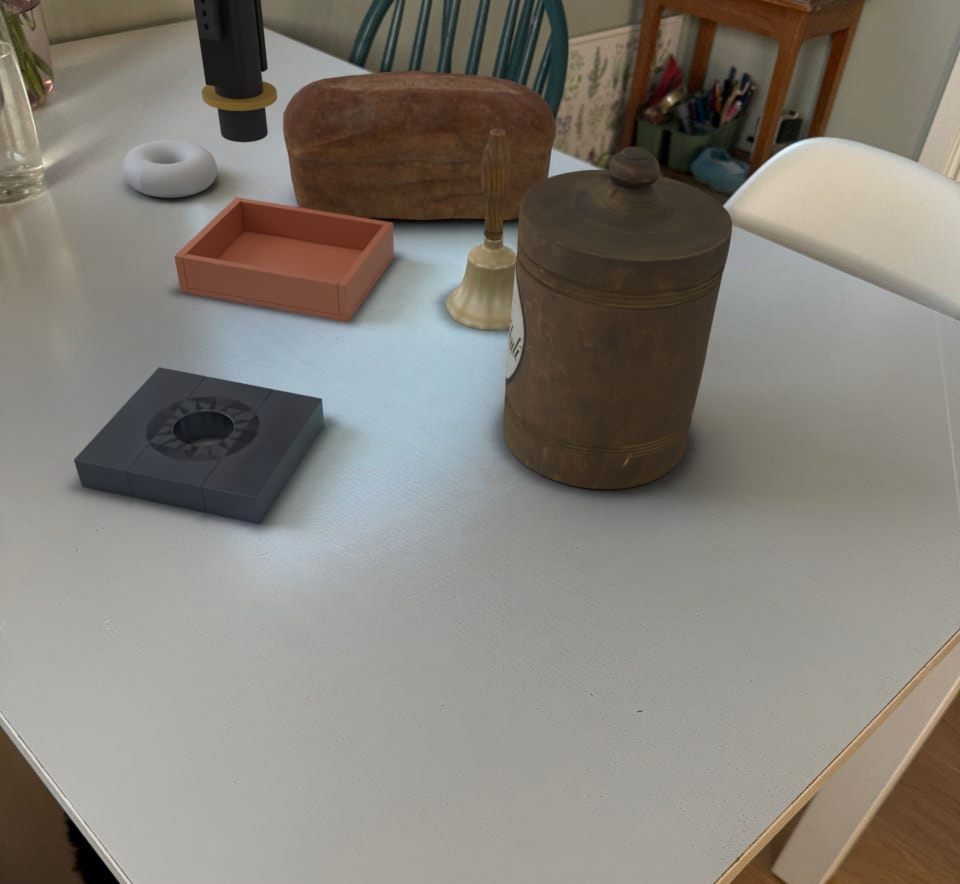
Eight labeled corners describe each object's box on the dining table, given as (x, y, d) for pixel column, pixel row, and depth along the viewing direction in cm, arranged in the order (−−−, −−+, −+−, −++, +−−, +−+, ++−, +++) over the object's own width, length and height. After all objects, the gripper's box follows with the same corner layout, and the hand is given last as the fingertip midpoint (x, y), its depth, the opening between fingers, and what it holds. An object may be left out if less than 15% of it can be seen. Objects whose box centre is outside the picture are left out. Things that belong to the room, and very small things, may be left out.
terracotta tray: (181, 292, 92) (173, 255, 90) (240, 231, 101) (236, 196, 99) (347, 322, 90) (345, 285, 87) (394, 257, 99) (393, 222, 96)
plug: (195, 141, 75) (166, -45, 67) (227, 116, 79) (203, -63, 70) (262, 152, 74) (242, -35, 66) (292, 126, 78) (276, -54, 69)
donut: (231, 172, 112) (145, 161, 112) (227, 140, 109) (140, 129, 110) (202, 209, 105) (111, 197, 105) (197, 176, 102) (104, 164, 103)
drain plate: (82, 487, 72) (73, 459, 70) (164, 393, 81) (158, 366, 79) (259, 525, 70) (255, 497, 68) (324, 424, 79) (322, 398, 77)
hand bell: (516, 339, 89) (531, 157, 78) (432, 319, 91) (434, 138, 79) (544, 298, 95) (562, 122, 83) (464, 280, 96) (470, 105, 85)
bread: (555, 231, 105) (568, 108, 96) (288, 231, 102) (275, 104, 93) (537, 178, 114) (547, 61, 105) (292, 176, 111) (281, 56, 102)
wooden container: (563, 365, 87) (596, 95, 71) (715, 427, 81) (788, 149, 65) (465, 442, 78) (477, 155, 62) (627, 517, 73) (686, 223, 57)
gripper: (173, -362, 51) (235, 122, 68) (299, -366, 62) (325, 50, 79) (43, -373, 52) (136, 106, 69) (190, -375, 63) (239, 38, 80)
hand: (237, 76), depth 74 cm, fingers closed on plug, 4 cm apart
